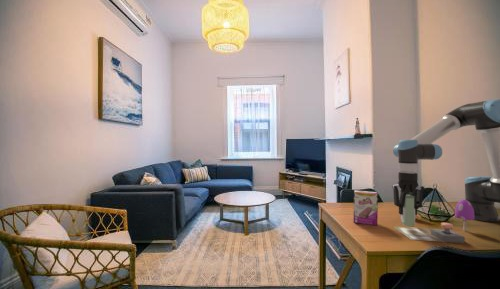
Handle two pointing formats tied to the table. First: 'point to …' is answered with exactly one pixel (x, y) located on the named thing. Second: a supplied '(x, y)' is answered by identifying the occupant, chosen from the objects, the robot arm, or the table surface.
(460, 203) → the toy
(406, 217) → the pale green block
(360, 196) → the candy bar box
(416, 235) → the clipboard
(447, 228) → the button cap
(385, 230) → the table surface
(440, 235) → the button housing
